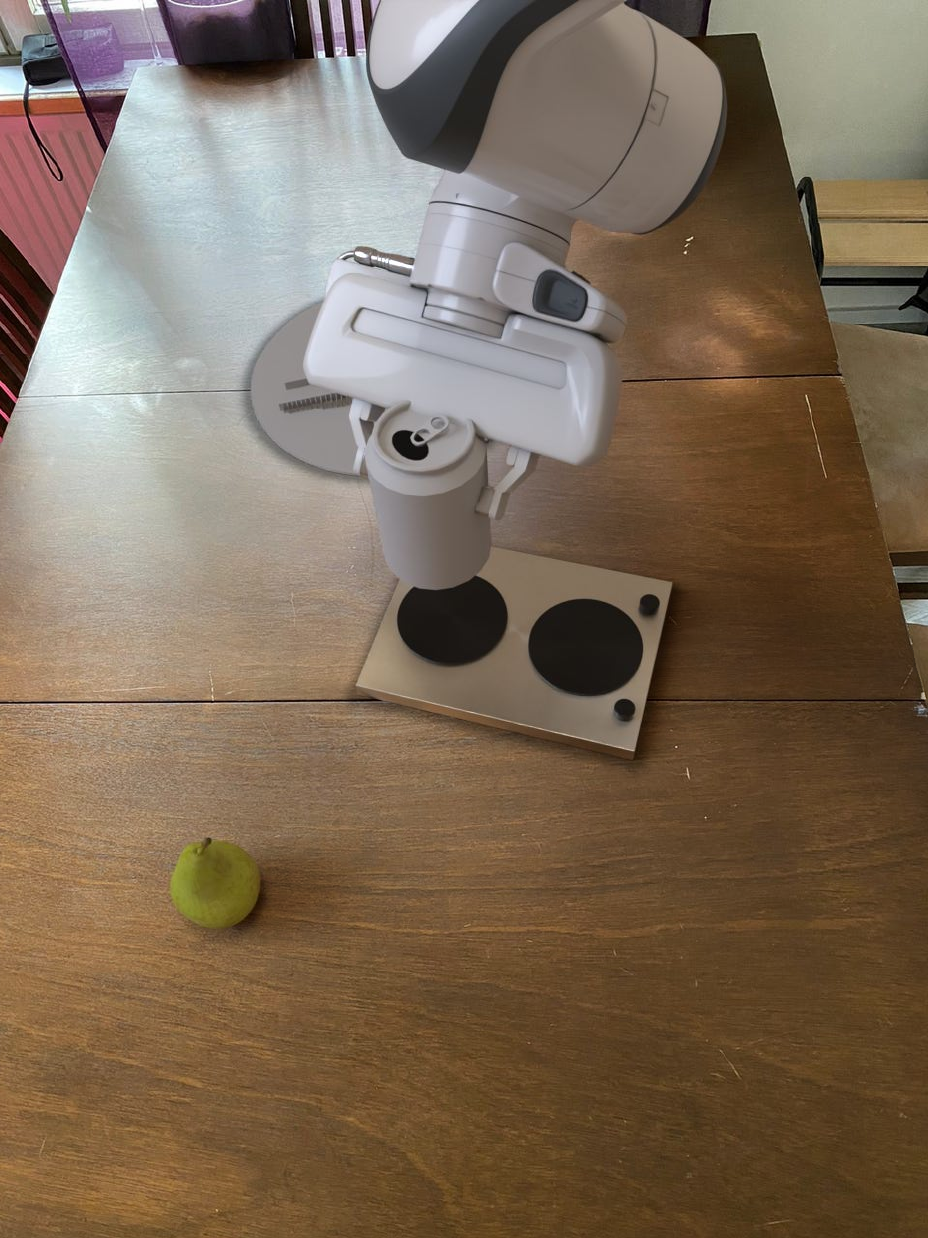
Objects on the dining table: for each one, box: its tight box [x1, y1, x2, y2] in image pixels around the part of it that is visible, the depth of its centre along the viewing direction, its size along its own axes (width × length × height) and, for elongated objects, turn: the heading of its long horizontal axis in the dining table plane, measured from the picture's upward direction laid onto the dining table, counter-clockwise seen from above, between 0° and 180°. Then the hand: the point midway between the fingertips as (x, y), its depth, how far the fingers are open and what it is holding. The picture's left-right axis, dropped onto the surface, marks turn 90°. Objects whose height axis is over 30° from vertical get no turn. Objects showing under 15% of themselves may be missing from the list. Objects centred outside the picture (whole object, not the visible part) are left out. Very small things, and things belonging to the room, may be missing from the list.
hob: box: [355, 545, 674, 761], centre depth 78 cm, size 22×16×2 cm
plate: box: [250, 300, 490, 477], centre depth 97 cm, size 28×28×1 cm
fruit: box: [169, 837, 261, 930], centre depth 63 cm, size 6×6×12 cm
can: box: [365, 400, 492, 590], centre depth 63 cm, size 8×8×12 cm
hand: (427, 496), depth 62 cm, fingers closed on can, 7 cm apart
